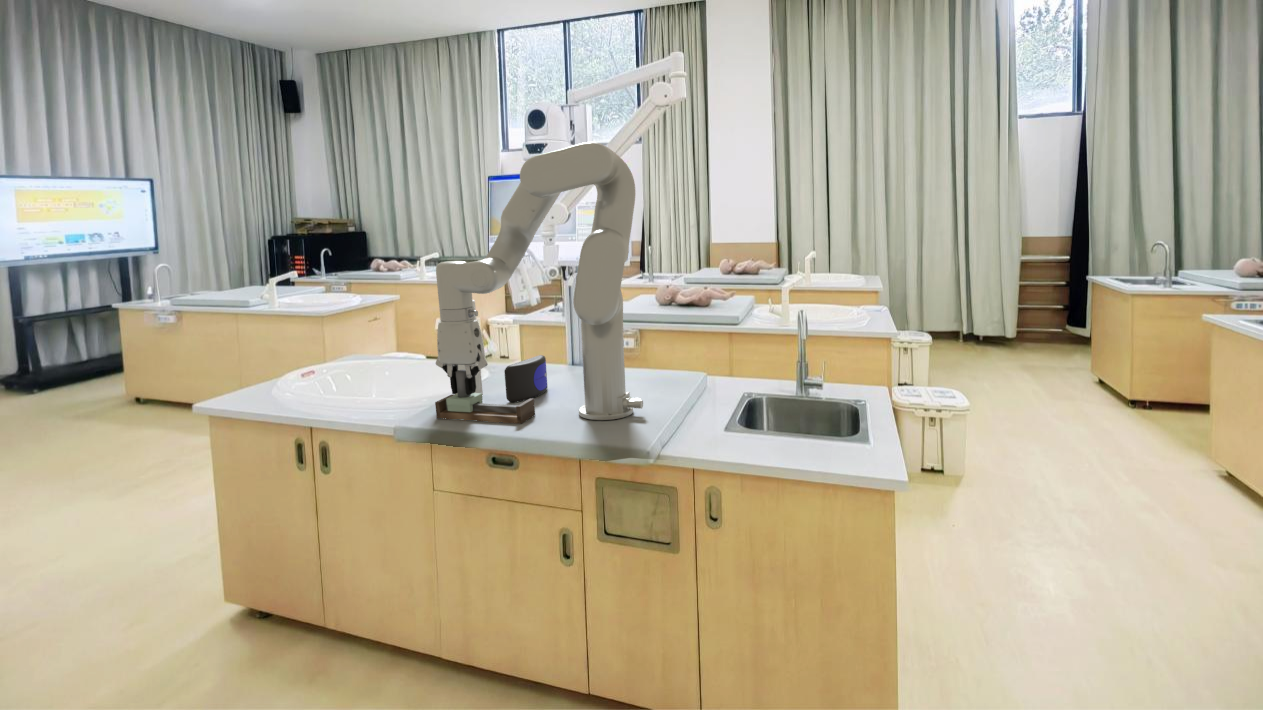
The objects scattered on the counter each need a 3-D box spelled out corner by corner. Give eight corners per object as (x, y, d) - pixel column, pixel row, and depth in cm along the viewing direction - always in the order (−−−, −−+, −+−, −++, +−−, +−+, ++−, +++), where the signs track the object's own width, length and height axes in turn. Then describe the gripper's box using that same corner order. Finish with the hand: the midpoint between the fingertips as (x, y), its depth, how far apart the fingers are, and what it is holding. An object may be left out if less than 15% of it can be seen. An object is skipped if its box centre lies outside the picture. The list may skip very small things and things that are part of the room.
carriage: (483, 405, 173) (479, 368, 171) (470, 412, 168) (466, 374, 166) (461, 404, 175) (457, 367, 173) (447, 411, 169) (443, 373, 168)
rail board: (535, 415, 170) (533, 398, 169) (521, 423, 163) (520, 406, 162) (452, 410, 177) (451, 394, 176) (436, 418, 170) (435, 402, 169)
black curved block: (520, 404, 180) (517, 367, 178) (505, 403, 182) (502, 366, 180) (556, 389, 193) (554, 354, 192) (542, 388, 196) (540, 353, 194)
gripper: (496, 313, 168) (502, 390, 171) (435, 312, 173) (442, 387, 177) (480, 318, 161) (486, 398, 164) (416, 317, 166) (424, 395, 170)
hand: (463, 392), depth 170 cm, fingers closed on carriage, 3 cm apart
